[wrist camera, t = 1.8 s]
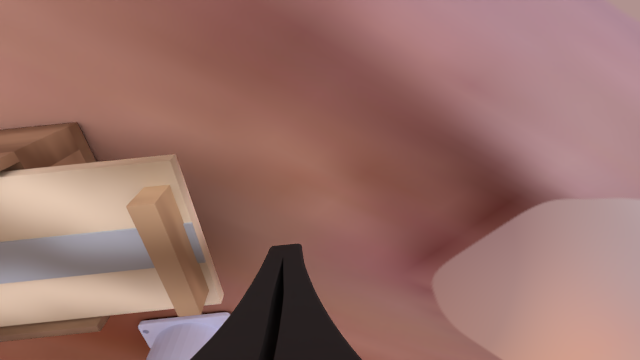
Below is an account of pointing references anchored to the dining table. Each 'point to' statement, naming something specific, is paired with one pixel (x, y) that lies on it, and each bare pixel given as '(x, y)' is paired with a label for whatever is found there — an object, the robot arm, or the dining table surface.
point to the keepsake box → (38, 152)
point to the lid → (101, 242)
